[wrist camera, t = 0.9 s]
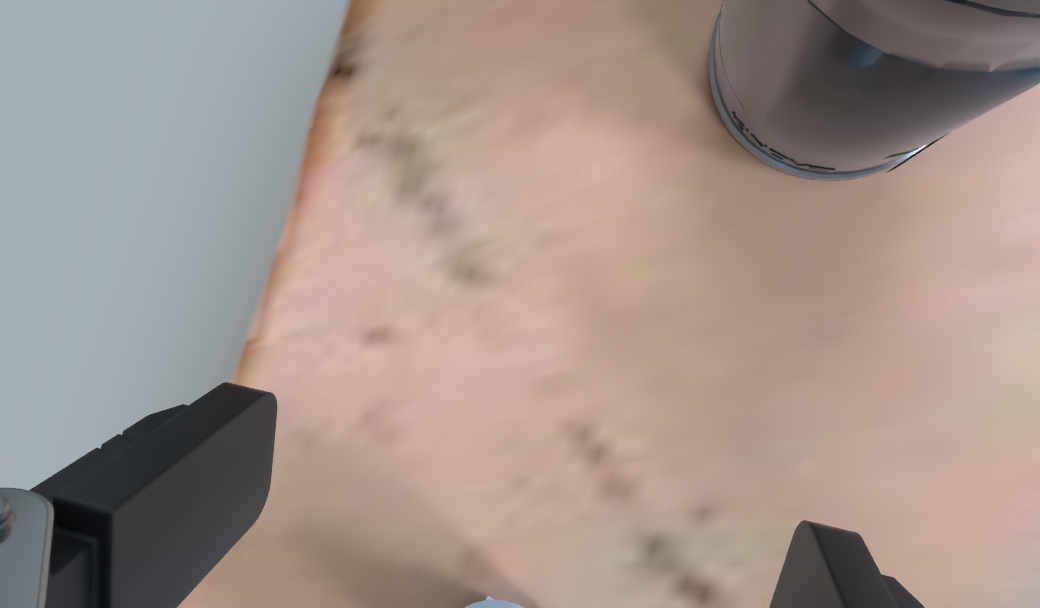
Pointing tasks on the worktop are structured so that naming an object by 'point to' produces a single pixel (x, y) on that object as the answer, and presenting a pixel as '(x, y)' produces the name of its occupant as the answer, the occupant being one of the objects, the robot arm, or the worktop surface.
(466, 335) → the worktop surface
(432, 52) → the worktop surface
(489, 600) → the bottle
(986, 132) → the worktop surface
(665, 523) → the worktop surface
